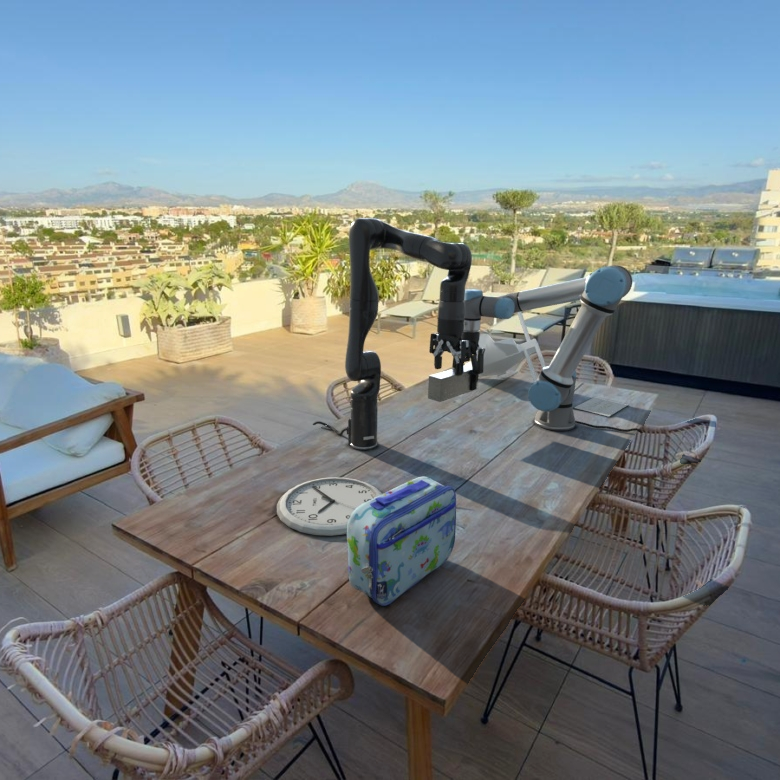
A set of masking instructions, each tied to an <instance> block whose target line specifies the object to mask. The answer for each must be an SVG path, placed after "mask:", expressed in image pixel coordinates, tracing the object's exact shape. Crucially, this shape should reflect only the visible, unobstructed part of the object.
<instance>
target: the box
mask: <svg viewBox="0 0 780 780" xmlns="http://www.w3.org/2000/svg"><path fill="white" fill-rule="evenodd" d="M471 374H473V370H472V366H469V365H465V364H464V368H463V374H462V375H460V376H456V375H455V368H451V369H447V370H444V371H441V372H437V373H433V374H430V375H428V388H427V399H428V400H432V401H436V402H439V403H441V402H444V401H447V400H450V399H453V398H456V397H459V396H462V395H464V394H465V395H466V394H467V393H470V392H473V391H476V390H478V382H476V389H475V390H472V391H471V390H470V387H471Z"/></svg>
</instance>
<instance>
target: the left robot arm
mask: <svg viewBox="0 0 780 780" xmlns="http://www.w3.org/2000/svg"><path fill="white" fill-rule="evenodd" d="M378 249H379V250H382V249H383V250H384V249H385V250H386V249H387V250H393V251H397V252H399V253H401V254H402V255H404V256H405V257H407V258H410V259H412V260H413V259H414V260H416V261H420V262H424V263H427V264H430V265H432V266H433V267H435V268H438V269H441V270H444V271H448V272H447V274H446V277H444V279H442V280H441V281H440V283H439V285H440V286H439V300H438V307H437V321H436V322H437V324H436V325H437V326H436V331H437V332H433V333H431V334H430V339H429V353H430V354H432V355H433V357H434V360H433V361H434V362H433V366H434V369H435V370H441V369H442V368H443V354H444V353H445V352H447V353H449V354H451V356H452V358H453V357H454V358H455V360H456V362H457V363H456V368H455V375H456V376H460V375H462V374H463V368H464V366H465V363H468V362H471V358H470V341H469V340H466V341H464V340H462V337H461V336H462V334H463V332H464V317H465V290H466V285H467V281H468V279H469V276H470V271H471V268H472V262H473V256H472V255H473V254H472V251H471V248H470V247H469V246H468V245H467V244H466V243H463V242H443V241H439V239H437V238H435V237H433V236H428V235H424V234H420V233H417V232H415V233H414V232H412V231H408V230H407V231H406V230H403V229H400V228H397V227H395V226H393V225H391V224H388V223H387V222H385V221H383V220H381V219H378V218H372V217H371V218H370V217H369V218H365V217H363V218H362V217H361V218H356V219H354V220H353V221H352V222H351V224H350V226H349V230H348V250H349V263H350V265H349V267H350V268H349V269H350V273H349V274H350V279H349V281H350V283H349V303H348V306H349V307H348V310H349V311H348V312H349V313H348V314H349V316H348V317H349V318H348V335H347V343H346V351H345V352H346V353H345V360H344V369H345V373H346V376H347V379H349V381H352V382H358V384H357V385H355V386H354V387H352V389H351V390H350V397H349V398H350V418H348V420H347V424H348V425H347V427H344V428H343V429H341V431H339V430H338V429H336V428H335V427H334V426H332V425H330V424H328V425H327V423H326V422H323V421H320V420H317V421H314V422H313V423H312V426H316V425H318V424H319V425H322V426H324V427H326V428H328V429H331V430H332V431H333V432H335V434H337V435H339V436H341V435H343V434H344V433H345V432H346V435H348V436H347V437H348V438H347V439H348V441H347V444H348V446H350V447H351V448H353V449H355V450H358V451H370V450H373V449H376V448H377V447H378V415H379V414H378V409H379V407H378V404H379V403H378V400H379V399H378V397H379V392H380V389H381V375H382V362H381V359H380V356H379V355H378V353H377V352H375V351H373V350H365V349H364V347H365V342H366V339H367V337H368V335H369V332H370V331H371V329H372V327H373V326H374V324H375V322H376V319H377V318H378V314H379V302H380V301H379V300H380V297H379V295H380V294H379V290H378V286H377V284H376V282H375V279H374V277H373V274H372V272H371V267H370V252H371V251H373V250H378ZM364 350H365V351H364ZM457 350H458V352H456V351H457ZM465 354H466V357H465ZM459 357H460V358H459ZM325 425H327V426H325Z"/></svg>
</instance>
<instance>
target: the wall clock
mask: <svg viewBox="0 0 780 780" xmlns="http://www.w3.org/2000/svg"><path fill="white" fill-rule="evenodd" d="M381 494H384V492H382V491H381V490H380V489H379V488H377V487H376V486H374V485H372V484H371V483H369V482H365V481H362V480H359V479H355V478H349V477H338V476H337V477H335V476H333V477H332V476H331V477H322V478H317V479H312V480H307V481H305V482H302V483H299V484H297V485H295V486H293V487H292V488H290V489H288V490H287V491H286V492H285V493H284V494H283V495H281V496H280V498H279V499H278V502H277V503H276V515H277V517H278V518H279V520H280V521H281V522H282V523H283V524H285V525H286V526H287V527H288V528H290V529H293V530H295V531H297V532H299V533H303V534H308V535H312V536H327V537H328V536H329V537H331V536H332V537H333V536H342V535H347V525H348V521H349V518H350V516H351V514H352V513H353V511H354V510H355V509H356V508H357V507H358V506H360V505H362V504H363V503H365V502H368V501H370V500H372V499H374V498H376V497H378V496H380V495H381Z"/></svg>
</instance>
